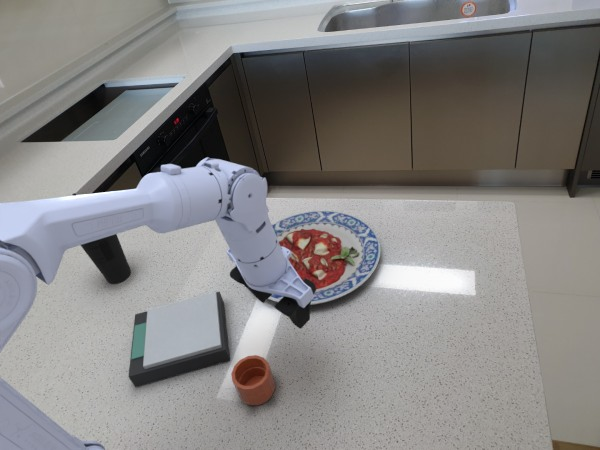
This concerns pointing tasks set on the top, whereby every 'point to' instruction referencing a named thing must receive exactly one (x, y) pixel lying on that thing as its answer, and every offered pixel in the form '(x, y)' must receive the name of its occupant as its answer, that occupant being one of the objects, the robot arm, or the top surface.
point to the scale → (178, 338)
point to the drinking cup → (108, 258)
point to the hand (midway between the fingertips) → (284, 309)
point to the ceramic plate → (329, 251)
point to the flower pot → (253, 380)
